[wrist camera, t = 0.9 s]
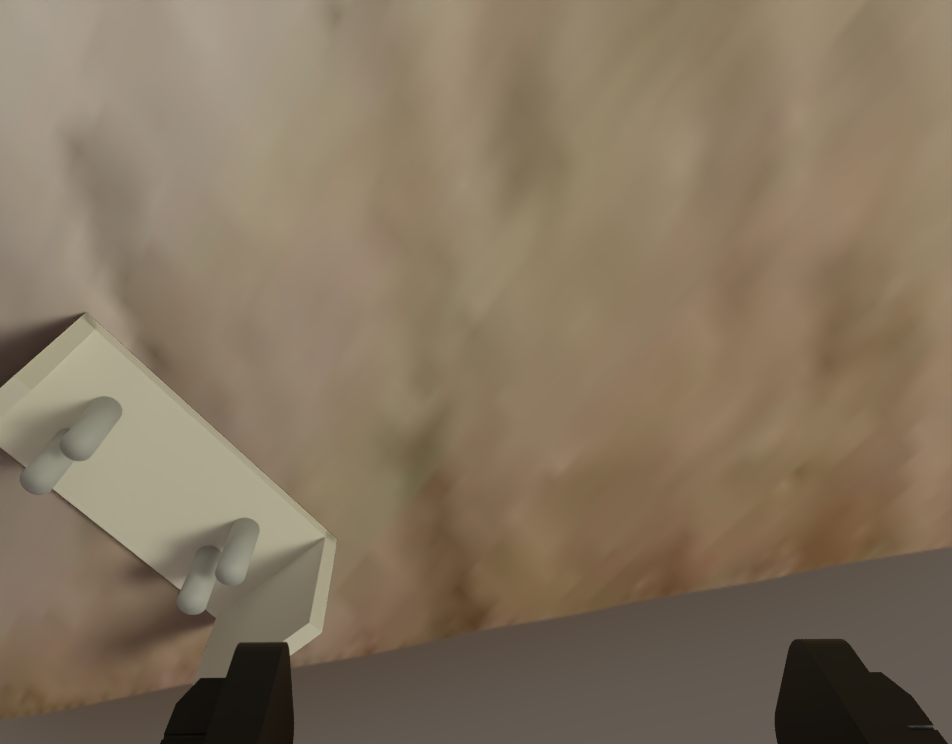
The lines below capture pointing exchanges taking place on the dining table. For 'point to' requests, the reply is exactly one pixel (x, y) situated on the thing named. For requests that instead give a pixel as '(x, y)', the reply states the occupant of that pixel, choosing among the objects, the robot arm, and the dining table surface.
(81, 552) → the dining table surface
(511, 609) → the dining table surface
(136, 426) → the shelf frame
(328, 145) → the dining table surface
